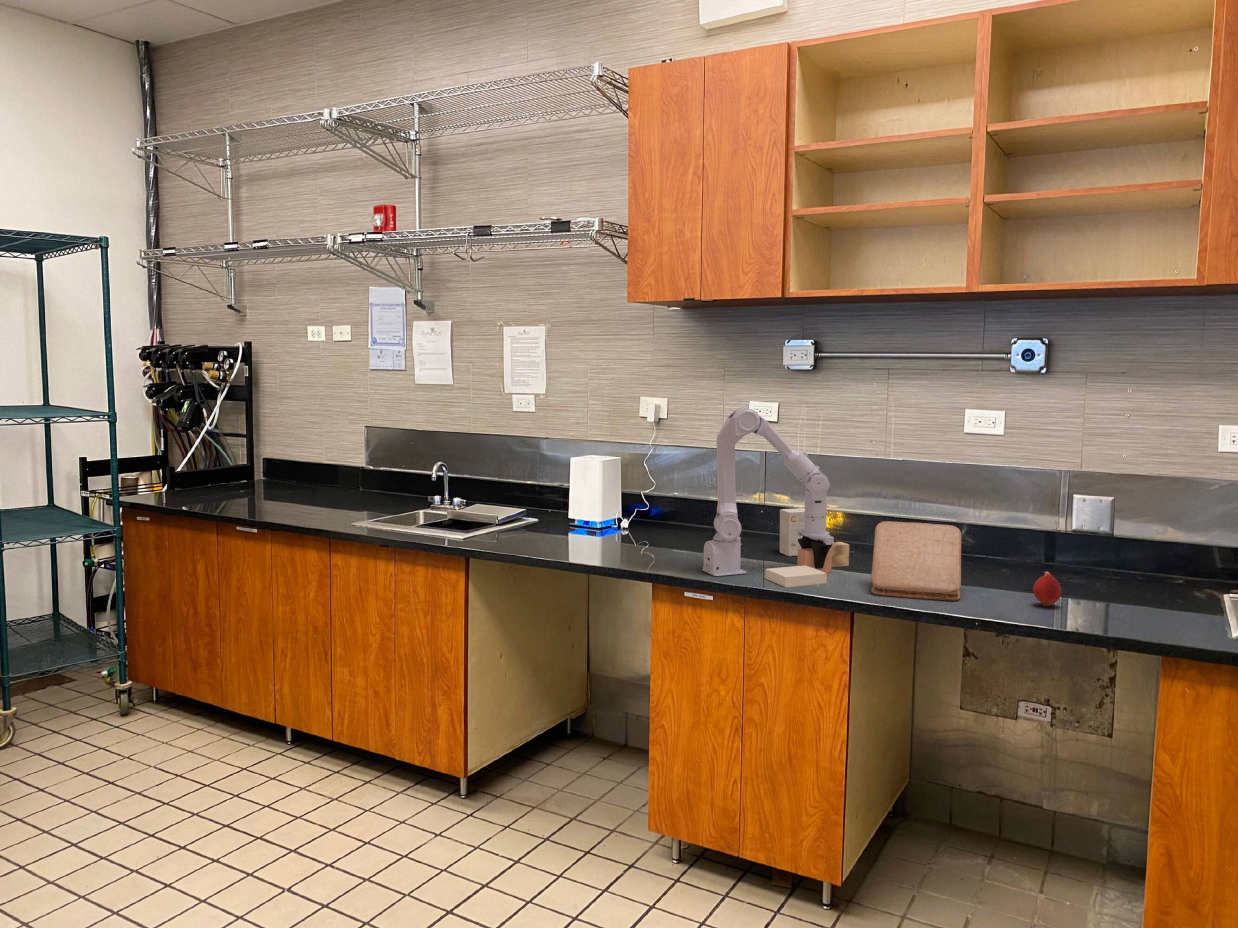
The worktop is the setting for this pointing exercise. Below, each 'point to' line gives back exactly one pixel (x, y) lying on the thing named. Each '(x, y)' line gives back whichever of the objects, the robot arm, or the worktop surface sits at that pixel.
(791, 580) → the base block
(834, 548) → the light oak brick
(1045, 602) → the onion
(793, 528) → the small box
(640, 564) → the worktop surface
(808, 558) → the terracotta brick
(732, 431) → the robot arm
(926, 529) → the case
